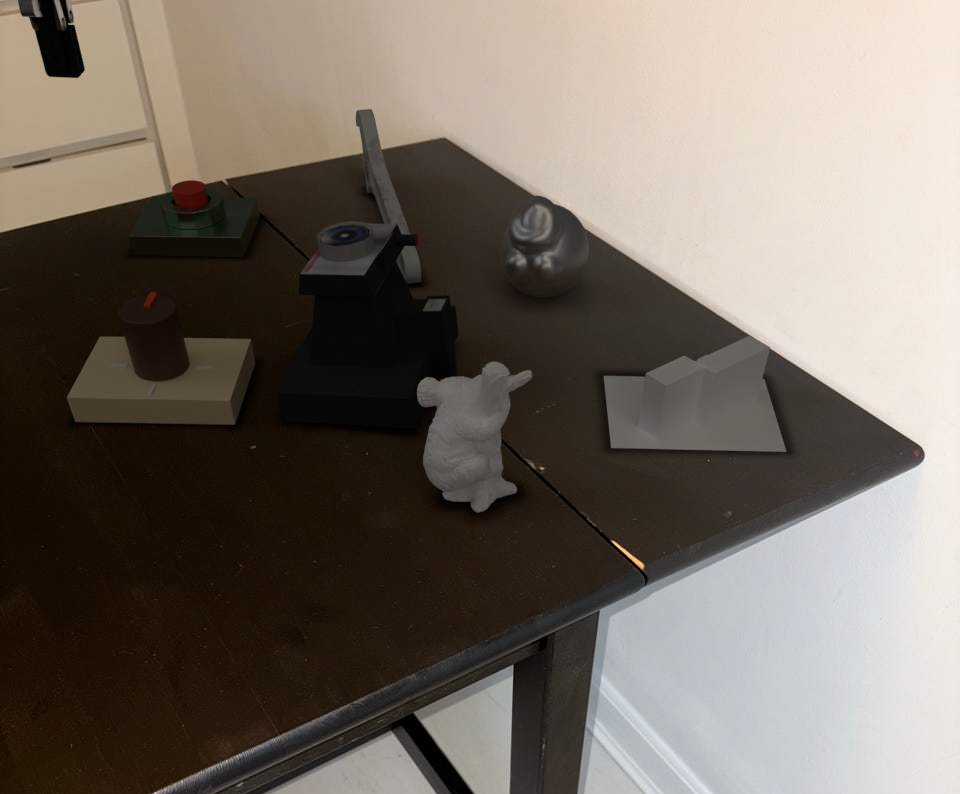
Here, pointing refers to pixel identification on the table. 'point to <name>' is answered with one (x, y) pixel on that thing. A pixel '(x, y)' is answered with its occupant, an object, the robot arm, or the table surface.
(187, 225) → the button block
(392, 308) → the camera
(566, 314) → the table surface
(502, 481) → the animal figurine
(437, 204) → the table surface
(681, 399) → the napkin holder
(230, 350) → the panel
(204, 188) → the button
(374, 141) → the wrench
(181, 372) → the dial
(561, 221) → the dark grey rounded lump
